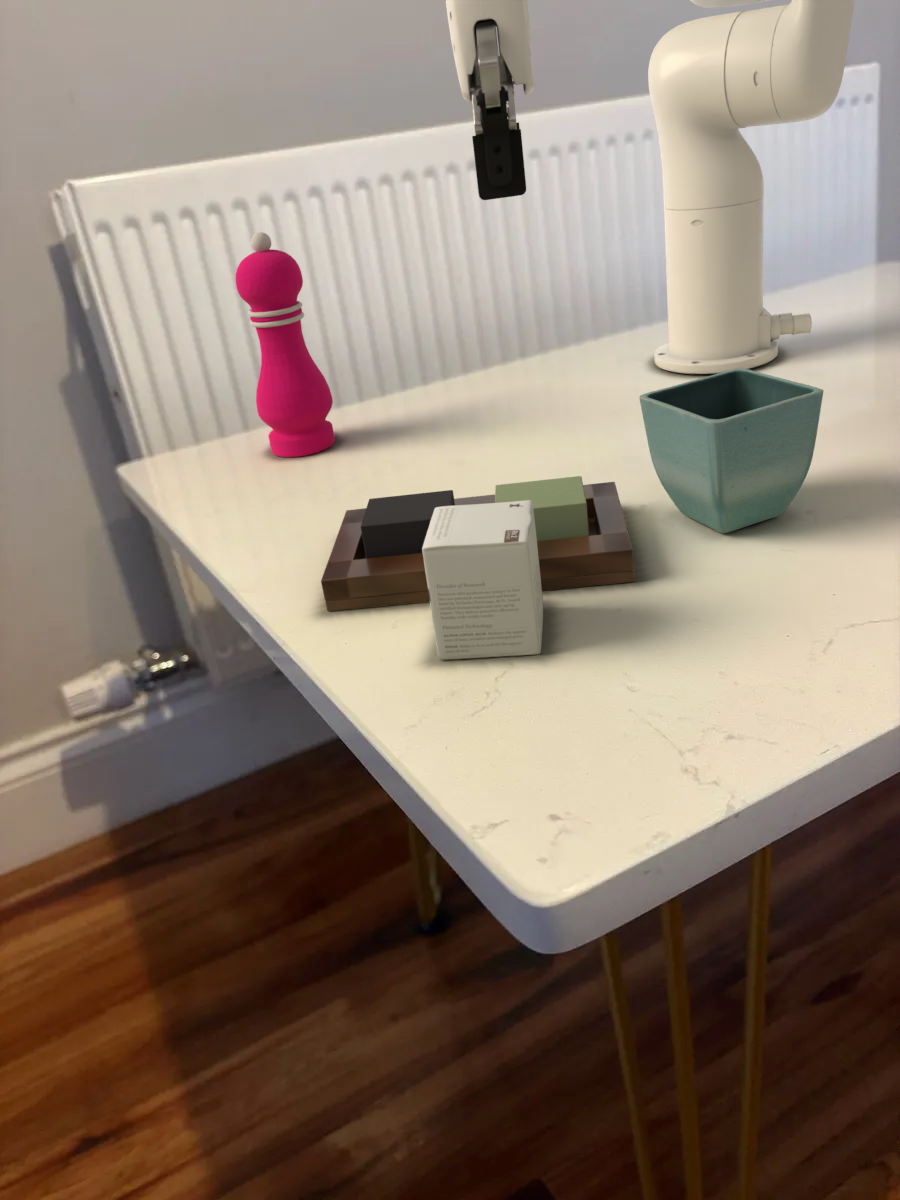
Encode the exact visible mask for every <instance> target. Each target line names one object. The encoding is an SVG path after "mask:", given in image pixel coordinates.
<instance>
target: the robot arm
mask: <svg viewBox="0 0 900 1200" xmlns="http://www.w3.org/2000/svg"><path fill="white" fill-rule="evenodd" d="M772 1H773V0H689V2H690V3H692V4H694V5H696V6H697V7H700V8H706V9H707V8H708V9H724V8H734V7H742V6H749V5H754V4H759V3H766V2H772ZM855 2H856V0H791V1H790V3H787V4H781V5H776V6H770V7H763V8H757V9H750V10H740V11H735V12H733V11H732V12H728V13H722V14H716V15H709V16H704V17H699V18H696V19H692V20H689V21H686V22H684V23H681V24H678V25H676V26H675V27H672V28H671V29H669V30H668V31H667V32H666V33H664V34H663V35H662V37H661V38H660V39H659V40H658V41H657V43H656V45H655V46H654V47H653V50H652V52H651V55H650V58H649V62H648V67H647V69H648V72H647V81H648V92H649V98H650V103H651V108H652V112H653V116H654V121H655V125H656V131H657V137H658V143H659V151H660V162H661V174H662V193H663V196H662V197H663V216H664V219H663V220H664V245H665V246H664V247H665V272H666V275H665V276H666V296H667V297H666V298H667V300H666V301H667V325H668V326H667V327H668V328H667V329H668V330H667V331H668V342H666V343H664V344H661V345H660V346H659V347H657V348H656V350H655V351H654V353H653V354H654V355H653V358H654V360H653V361H654V363H655V365H656V366H657V367H658V368H659V369H662V370H664V371H667V372H671V373H676V374H677V373H678V374H687V375H715V374H718V373H722V372H726V371H730V370H733V369H738V368H742V369H749V370H751V369H753V368H757V367H760V366H763V365H765V364H768V363H770V362H771V361H773V360H774V359H775V358H776V357H777V356H778V354H779V342H778V341H777V340H779V339H780V336H783V335H801V334H809V333H811V332H812V327H813V326H812V324H813V322H812V316H811V314H810V313H800V314H793V313H792V312H786V313H779V314H778V313H777V314H771V313H770V312H769V311H768V310H767V309H766V308H765V307H764V197H765V196H764V192H765V191H764V176H763V170H762V167H761V165H760V161H759V160H758V157H757V156H756V154H755V152H754V151H753V149H752V148H751V146H750V144H749V143H748V142H747V141H746V139H745V137H744V136H743V134H742V133H741V131H740V129H746V128H749V127H750V128H751V127H760V126H771V125H781V124H782V125H783V124H790V123H798V122H805V121H809V120H813V119H816V118H818V117H820V116H822V115H824V114H825V113H826V112H827V111H828V110H829V109H830V108H831V107H832V105H833V104H834V102H835V101H836V99H837V97H838V95H839V92H840V89H841V86H842V81H843V76H844V73H845V67H846V60H847V56H848V55H847V54H848V47H849V42H850V35H851V29H852V22H853V14H854V9H855ZM445 8H446V16H447V22H448V29H449V35H450V42H451V48H452V53H453V59H454V64H455V70H456V74H457V79H458V83H459V87H460V92H461V96H462V99H463V100H465V101H466V102H468V103H469V104H472V114H473V125H474V134H475V135H472V136H471V138H472V147H473V155H474V157H473V158H474V165H475V174H476V182H477V183H476V184H477V190H478V191H477V192H478V197H479V199H480V200H482V201H490V200H498V199H504V198H512V197H518V196H523V195H525V194H526V192H527V181H526V171H525V170H526V169H525V160H524V159H525V158H524V148H523V139H522V138H523V137H522V129H521V128H520V121H518V122H517V115H516V105H515V86H519V85H522V88H523V94H524V95H525V96H529V95H530V94H532V93H533V91H534V90H535V88H536V86H535V77H534V75H535V74H534V63H533V53H532V51H533V50H532V42H531V41H532V39H531V27H530V16H529V4H528V0H445Z"/></svg>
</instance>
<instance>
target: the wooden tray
mask: <svg viewBox="0 0 900 1200" xmlns="http://www.w3.org/2000/svg"><path fill="white" fill-rule="evenodd" d="M583 487H584V493H585V498H586V503H587V516H588V529H589V536H584V537H574V538H564V539H554V540H545V541H537V547H538V557H539V567H540V577H541V589H542V592H543V591H553V590H564V589H572V588H584V587H585V588H586V587H593V586H603V585H614V584H623V583H626V584H627V583H634V582H635V579H636V578H635V563H634V562H635V561H634V549H633V545H632V541H631V537H630V533H629V531H628V527H627V522H626V518H625V515H624V511H623V508H622V503H621V501H620V496H619V493H618V488H617V485H616V482H615V481H608V482H606V481H605V482H598V483H597V482H596V483H589V484H583ZM454 502H455V505H471V504H487V503H495V493H493V494H486V495H485V494H484V495H477V496H467V497H459V498H454ZM366 508H367V507H364V508H355V509H354V508H353V509H346V510H345V513H344V515H343V519H342V521H341V525H340V527H339V530H338V533H337V535H336V538H335V541H334V544H333V547H332V549H331V553H330V555H329V558H328V560H327V563H326V565H325V569H324V571H323V574H322V577H321V580H320V583H321V589H322V593H323V598H324V603H325V606H326V611H327V612H336V611H337V612H338V611H346V610H355V609H356V610H357V609H368V608H379V607H388V606H397V605H398V606H400V605H408V604H419V603H427V602H429V603H430V601H429V593H428V586H427V579H426V573H425V566H424V559H423V553H417V554H407V555H397V556H388V557H378V558H368V559H366V553H365V548H364V543H363V537H362V532H361V524H362V521H363V518H364V514H365V511H366Z"/></svg>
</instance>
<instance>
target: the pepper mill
mask: <svg viewBox="0 0 900 1200" xmlns="http://www.w3.org/2000/svg"><path fill="white" fill-rule="evenodd" d="M250 243H251V247H252V249H253V250H254V251H255V252H252V253H250V254H248V255H246V256H245V257H244V258H243V259H241V261H240V262H239V264H238V265H237V268H236V272H235V287H236V291H237V293H238V295H239V296H240V298H241V299H242V300H243V301H244V302H245V303H246V304H248V306H249V307H250V309H249V310H248V311H247V315H248V317H249V319H250V321H249V325H250V326H251V327H252V328H255V331H256V334H257V337H258V340H259V347H260V370H259V375H258V381H257V386H256V394H255V395H256V396H255V403H256V411H257V415H258V417H259V419H260V420H261V421H262V422H263V423H264V424H266V425H267V426H268V427H269V428H271V429H272V430H271V431H270V432H269V434H268V442H269V446H270V450H271V453H272V454H273V455H275V456H277V457H281V458H298V457H306V456H311V455H313V454H317V453H320V452H322V451H325V450H327V449H328V448H331V447H332V446H333V445H334V444H335V442H336V437H335V431H334V427H333V423H332V422H330V421H329V420H327V419H326V418H327V417H328V416H329V413H330V412H331V410H332V406H333V403H334V402H333V401H334V400H333V396H332V392H331V388H330V386H329V384H328V382H327V380H326V378H325V376H324V374H323V373H322V372H321V370H320V369H319V367H318V365H317V363H316V362H315V361H314V359H313V357H312V356H311V354H310V351H309V350H308V347H307V345H306V342H305V338H304V335H303V330H302V329H303V328H302V320H303V318H304V317H305V313H304V311H303V308H302V307H303V302H301V301H300V300H298V296H299V294H300V292H301V291H302V288H303V284H304V279H303V275H302V270H301V267H300V266H299V263H298V262H297V260H296V259H295V258H294V257H293V256H292V255H290V254H289V253H287V252H285V251H283V250H279V249H274V248H273V249H271V248H272V238H271V237H270V236H269V235H268V234H267V233H266V232H263V231H259V232H256V233H255V234H253V236H252V237H251V240H250Z"/></svg>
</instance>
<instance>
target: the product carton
mask: <svg viewBox="0 0 900 1200" xmlns="http://www.w3.org/2000/svg"><path fill="white" fill-rule="evenodd" d="M422 553H423V559H424V566H425V573H426V579H427V586H428V593H429V601H430V602H429V606H430V612H431V619H432V625H433V626H432V627H433V632H434V638H435V645H436V646H435V647H436V652H437V657H438V659H440V660H448V661H449V660H465V659H480V658H481V659H482V658H498V657H500V658H501V657H516V656H531V655H539V654H541V652H542V642H543V627H544V600H543V591H542V589H541V577H540V567H539V557H538V547H537V537H536V528H535V519H534V510H533V502H532V501H531V500H525V501H514V502H501V503H487V504H471V505H454V506H442V507H436V508H435V509H434V512H433V515H432V518H431V521H430V524H429V528H428V531H427V534H426V537H425V540H424V544H423V547H422Z"/></svg>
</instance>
